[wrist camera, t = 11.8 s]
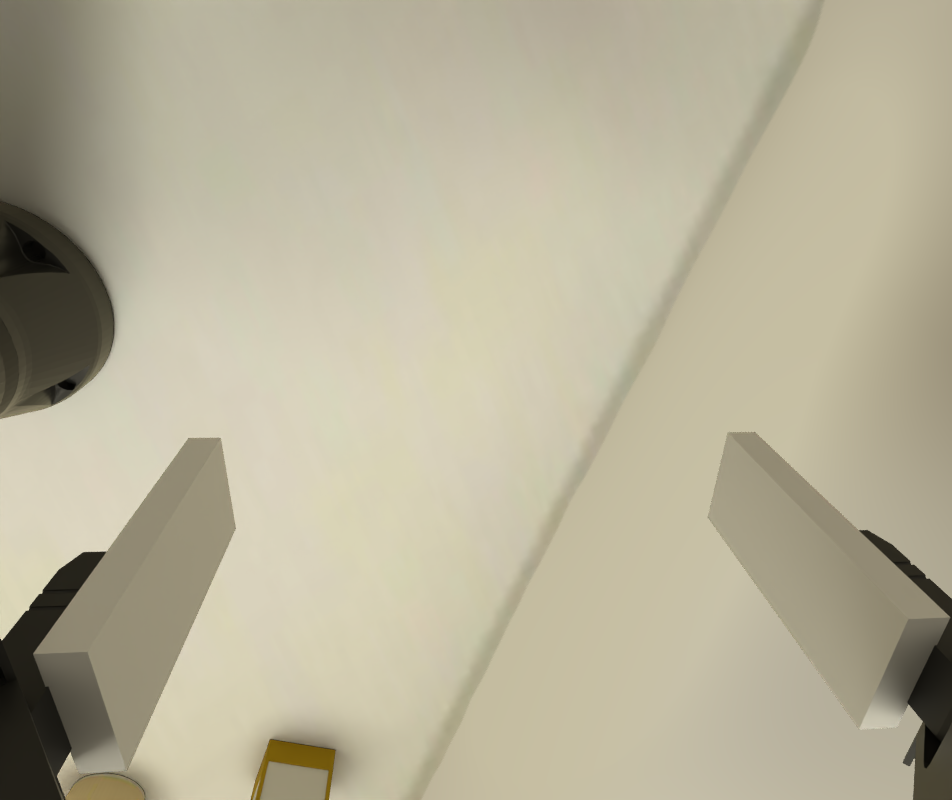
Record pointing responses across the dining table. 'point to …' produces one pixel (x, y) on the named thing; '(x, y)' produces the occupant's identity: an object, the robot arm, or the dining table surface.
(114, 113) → the dining table surface
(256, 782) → the soap bottle
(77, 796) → the coffee cup
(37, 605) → the robot arm
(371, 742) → the dining table surface
